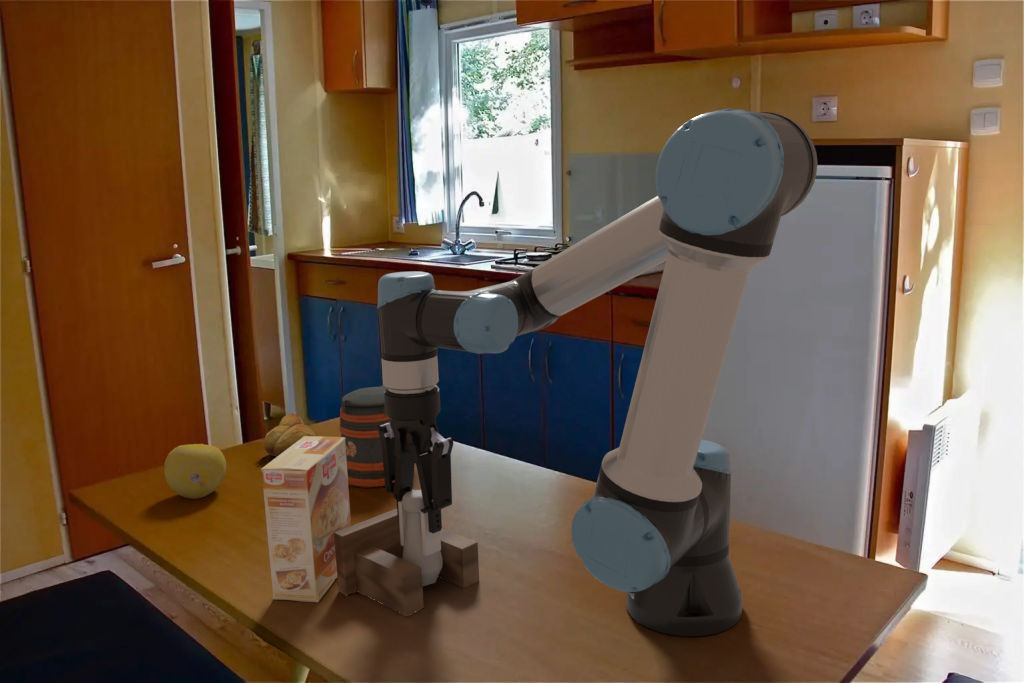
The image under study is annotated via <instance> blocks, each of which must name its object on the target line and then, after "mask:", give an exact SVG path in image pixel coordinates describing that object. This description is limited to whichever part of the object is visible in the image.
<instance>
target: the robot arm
mask: <svg viewBox="0 0 1024 683" xmlns="http://www.w3.org/2000/svg"><path fill="white" fill-rule="evenodd" d="M817 156H818V155H817V150H816V147H815V145H814V142H813V140H812V139H811V137H810V135H809V134H808V132H807V131H806V130H805V128H803V127H802V126H801V124H799V123H798V122H796V120H793V119H792V118H789V117H788V116H786V115H782V114H780V113H776V112H769V111H767V112H765V111H763V112H761V111H750V110H746V109H736V108H735V109H733V108H723V109H722V108H721V109H718V110H713V111H710V112H705V113H702V114H699V115H698V116H695V117H693V118H690V120H688V121H686V122H685V123H683V124H682V125H681V126H679V127H678V128H677V129H676V130H675V131H674V132H673V134H672V135H671V136H670V137H668V140H667V141H666V143H665V144H664V146H663V148H662V150H661V152H660V155H659V158H658V160H657V164H656V167H655V168H656V169H655V189H656V195H657V196H655V197H653V198H651V199H649V200H648V201H646V202H644V203H642V204H641V205H640V206H638V207H635V208H634V209H633V210H631V211H629V212H627V213H626V214H624V215H622V216H620V217H619V218H618V219H615V220H613V221H612V222H610V223H608V224H607V225H605V226H603V227H602V228H600V229H598V230H596V231H595V232H593V233H592V234H589V235H588V236H586V237H585V238H583V239H581V240H580V241H578V242H576V243H575V244H572V245H571V246H569V247H568V248H566V249H564V250H562V251H561V252H559V253H557V254H555V255H554V256H552V257H550V258H549V259H547V260H545V261H543V262H542V263H540V264H538V265H537V266H535V267H534V268H531V269H530V270H528V271H527V272H525V273H522V274H520V276H518V277H516V278H514V279H512V280H510V281H507V282H503V283H497V284H494V285H489V286H485V287H480V288H477V289H472V290H466V291H465V290H464V291H463V290H462V291H459V290H457V291H456V290H455V291H454V290H442V289H441V290H440V289H436V285H435V279H434V276H433V275H432V273H429V272H425V271H415V270H414V271H399V272H398V271H397V272H390V273H386V274H384V275H382V276H381V277H380V278H379V280H378V283H377V306H376V309H377V314H378V322H379V323H378V324H379V334H380V335H379V336H380V347H381V370H382V372H381V374H382V376H381V377H382V385H384V386H385V387H386V388H387V389H386V390H385V391H384V402H385V414H386V416H387V417H389V418H390V419H391V420H390V423H386V424H383V425H379V426H378V433H379V436H380V439H381V445H382V456H383V468H384V480H385V487H384V489H385V492H387V493H388V494H390V493H391V494H392V495H393V499H394V500H396V509H397V515H398V519H399V524H400V540H401V545H402V546H404V539H405V529H406V518H407V512H406V511H404V509H403V505H402V500H403V496H404V495H405V494H406V493H407V492H410V491H413V490H414V489H413V486H414V485H413V484H414V475H415V471H414V470H415V467H416V471H417V476H418V482H419V485H420V486H419V487H420V490H421V492H422V498H423V503H424V508H422V509H420V513H421V530H422V548H423V555H425V556H428V555H430V554H432V553H435V552H437V551H439V550H441V537H440V531H441V529H442V528H443V524H442V519H443V518H442V509H445V508H447V507H450V506H452V504H453V496H452V495H453V494H452V492H453V490H452V487H453V485H452V451H453V446H454V440H453V438H452V437H447V438H444V436H442V435H441V434H440V433H439V427H438V425H437V421H436V418H437V417H438V415H439V413H440V412H441V397H440V396H441V395H440V392H441V391H440V388H439V386H438V385H437V384H438V383H439V381H440V379H439V363H438V349H445V350H446V349H447V350H451V351H453V350H454V351H460V352H469V353H474V354H476V355H483V354H501V353H503V352H505V351H507V350H508V349H509V347H510V345H511V344H512V343H514V341H515V339H516V337H518V336H522V335H525V334H528V333H531V332H537V331H540V330H543V329H545V328H547V327H549V326H550V325H552V324H554V323H556V321H557V320H558V319H559V318H560V317H562V316H563V315H565V314H567V313H569V312H571V311H573V310H575V309H578V308H579V307H581V306H583V305H584V304H586V303H589V302H590V301H592V300H594V299H596V298H598V297H600V296H602V295H604V294H606V293H608V292H610V291H612V290H613V289H615V288H617V287H619V286H622V285H623V284H625V283H627V282H629V281H630V280H632V279H634V278H636V277H638V276H640V275H642V274H643V273H646V272H647V271H650V270H651V269H653V268H655V267H657V266H659V265H661V264H663V263H665V264H664V268H663V272H662V275H661V280H660V283H659V288H658V292H657V295H656V300H655V303H654V308H653V312H652V316H651V319H650V324H649V328H648V331H647V335H646V339H645V344H644V347H643V351H642V356H641V360H640V363H639V367H638V371H637V376H636V380H635V383H634V388H633V392H632V396H631V399H630V404H629V407H628V411H627V415H626V419H625V423H624V427H623V432H622V436H621V440H620V443H619V446H618V447H617V448H614V449H613V450H611V451H608V452H607V453H606V454H605V455H604V457H603V458H602V461H601V466H600V469H599V472H598V477H597V481H596V484H595V488H594V492H593V496H592V497H591V498H589V499H587V500H586V501H584V502H582V504H581V506H580V507H579V508H578V510H577V511H576V513H575V514H574V516H573V519H572V523H571V528H570V531H571V535H570V536H571V542H572V545H573V549H574V551H575V554H576V555H577V557H578V558H579V559H581V561H582V563H583V564H582V565H583V567H584V568H585V569H586V571H588V572H589V573H590V574H591V575H592V577H594V579H596V580H598V582H600V583H602V584H603V585H605V586H607V587H609V588H611V589H612V590H616V591H620V592H625V594H626V595H625V596H626V602H625V603H626V604H625V605H626V609H627V612H628V614H629V615H630V617H631V618H632V619H633V620H635V621H636V622H637V623H638V624H640V625H642V626H643V627H646V628H647V629H650V630H653V631H655V632H659V633H661V634H666V635H672V636H679V637H680V636H681V637H702V636H703V637H704V636H710V635H714V634H715V635H716V634H719V633H721V632H725V631H727V630H729V629H730V628H732V627H734V626H735V625H736V624H737V623H738V622H739V621H740V620H741V617H742V614H743V595H742V590H741V588H740V586H739V583H738V580H737V576H736V572H735V569H734V567H733V564H732V560H731V558H730V533H731V532H730V529H731V528H730V527H731V526H730V525H731V482H732V481H731V479H732V475H733V471H732V469H731V468H732V467H731V456H730V453H729V450H727V448H726V447H724V446H723V445H721V444H719V443H716V442H714V441H710V440H705V439H703V436H704V432H705V428H706V424H707V423H708V422H707V421H708V417H709V414H710V410H711V408H712V403H713V401H714V397H715V393H716V390H717V387H718V383H719V379H720V376H721V372H722V370H723V364H724V361H725V358H726V354H727V351H728V347H729V343H730V341H731V337H732V333H733V330H734V327H735V322H736V319H737V316H738V311H739V308H740V305H741V301H742V298H743V294H744V291H745V287H746V285H747V280H748V277H749V274H750V271H751V269H752V268H753V267H756V266H757V265H759V264H760V263H762V262H764V261H766V260H768V259H769V258H770V255H771V252H772V248H773V245H774V241H775V238H776V235H777V231H778V229H779V224H780V221H781V217H783V216H785V215H788V214H790V212H792V211H794V210H795V209H796V208H798V207H799V206H800V204H802V203H803V202H804V201H805V200H806V198H807V196H808V195H809V194H810V192H811V191H812V188H813V187H814V184H815V181H816V177H817V174H818V173H817V171H818V157H817ZM415 465H416V466H415ZM394 480H395V482H393V483H392V481H394ZM432 500H433V501H432Z"/></svg>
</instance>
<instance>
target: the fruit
mask: <svg viewBox="0 0 1024 683" xmlns="http://www.w3.org/2000/svg"><path fill="white" fill-rule="evenodd" d="M163 466H164V476H165V479H166V482H167V484H168V485H169V487H170V488H171V490H173V492H175V493H177V494H178V495H179V496H181V497H183V498H186V499H189V500H191V499H192V500H193V499H201V498H204V497H206V496H209V495H210V494H212V493H213V492H215V490H217V488H219V487H220V485H221V483H222V482H223V481H224V478H225V475H226V471H227V462H226V458H225V455H224V454H223V452H222V450H220V449H219V448H218V447H216V446H215V445H210V444H204V443H193V444H192V443H191V444H189V443H188V444H183V445H182V444H181V445H178V446H177V447H174V448H173V449H172V450H170V452H169V453H168V454H167V456H166V458H165V461H164V465H163Z"/></svg>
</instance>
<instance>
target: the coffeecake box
mask: <svg viewBox="0 0 1024 683" xmlns="http://www.w3.org/2000/svg"><path fill="white" fill-rule="evenodd" d="M345 439H346V438H345V437H341V436H322V435H321V436H319V435H318V436H316V435H315V436H303V437H302V438H301V439H300V440H299V441H297V442H296V443H295V444H293V445H292V446H291V447H289V448H288V449H287V450H285V451H284V452H283V453H281V454H280V455H279V456H277V457H276V456H275V458H273V459H271V461H269V462H268V463H267V464H265V465H264V466H263V467H261V469H260V470H261V476H262V484H263V485H262V487H263V498H264V508H265V509H264V510H265V511H264V512H265V519H266V520H265V521H266V532H267V543H268V554H269V566H270V576H271V578H270V579H271V588H272V600H281V601H296V602H304V603H305V602H307V603H319V602H320V600H321V599H322V598H323V596H324V595H325V594H326V592H327V591H328V590H329V589H330V587H331V586H332V585H333V583H334V582H335V581H336V580H335V579H338V578H337V565H336V553H335V540H334V532H337V531H339V530H342V529H345V528H347V527H350V526H352V523H351V522H352V520H351V508H350V507H351V506H350V492H349V491H350V490H349V485H348V474H347V459H346V445H345Z"/></svg>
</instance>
